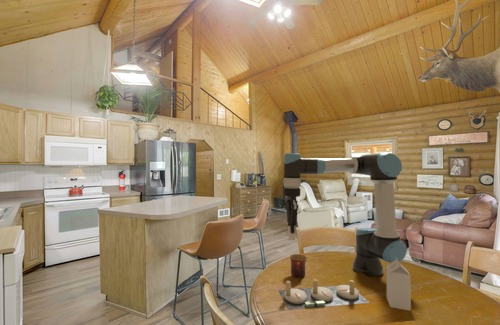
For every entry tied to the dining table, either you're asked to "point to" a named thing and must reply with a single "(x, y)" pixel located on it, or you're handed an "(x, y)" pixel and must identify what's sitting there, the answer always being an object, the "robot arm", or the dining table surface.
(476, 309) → the dining table surface
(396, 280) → the milk carton
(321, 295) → the knob middle
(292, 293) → the knob
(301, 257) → the mug
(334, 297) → the base plate
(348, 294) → the knob
